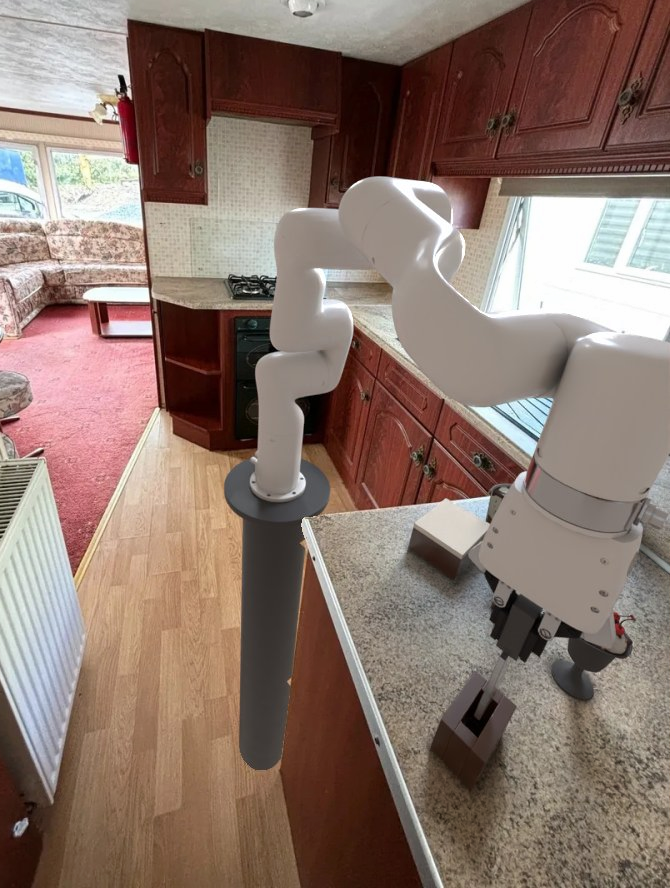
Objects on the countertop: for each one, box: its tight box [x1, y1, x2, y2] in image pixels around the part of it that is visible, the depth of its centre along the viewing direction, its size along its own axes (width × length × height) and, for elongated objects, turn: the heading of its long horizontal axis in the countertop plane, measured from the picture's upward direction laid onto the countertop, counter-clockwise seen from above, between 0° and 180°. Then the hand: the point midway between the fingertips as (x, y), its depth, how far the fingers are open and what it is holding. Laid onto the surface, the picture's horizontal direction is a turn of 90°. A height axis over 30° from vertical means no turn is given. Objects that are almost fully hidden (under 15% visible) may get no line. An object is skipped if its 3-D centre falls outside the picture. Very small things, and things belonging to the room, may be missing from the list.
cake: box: [407, 498, 490, 582], centre depth 73 cm, size 9×11×6 cm
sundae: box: [550, 610, 637, 700], centre depth 52 cm, size 7×7×15 cm
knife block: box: [429, 670, 518, 793], centre depth 46 cm, size 5×8×6 cm, turn 132°
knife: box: [474, 594, 544, 720], centre depth 41 cm, size 2×4×16 cm, turn 132°
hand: (513, 639), depth 40 cm, fingers closed on knife, 2 cm apart
